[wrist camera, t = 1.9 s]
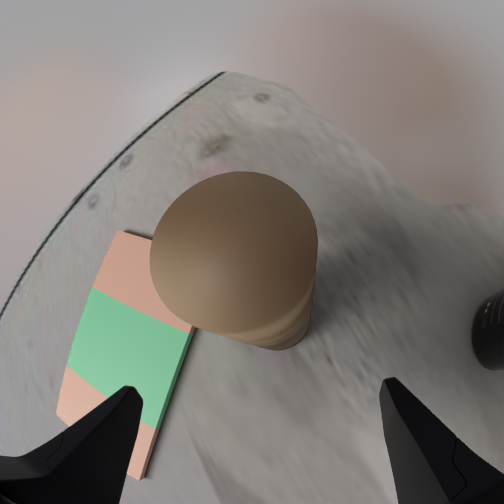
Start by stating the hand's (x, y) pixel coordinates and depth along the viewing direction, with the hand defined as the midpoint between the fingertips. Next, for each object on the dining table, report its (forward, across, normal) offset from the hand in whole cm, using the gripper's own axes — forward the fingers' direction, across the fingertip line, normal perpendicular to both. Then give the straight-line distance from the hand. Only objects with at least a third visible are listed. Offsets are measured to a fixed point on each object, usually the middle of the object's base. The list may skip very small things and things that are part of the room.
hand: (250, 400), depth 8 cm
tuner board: (+9, +14, +7) cm, 18 cm away
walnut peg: (+11, 0, +5) cm, 12 cm away
